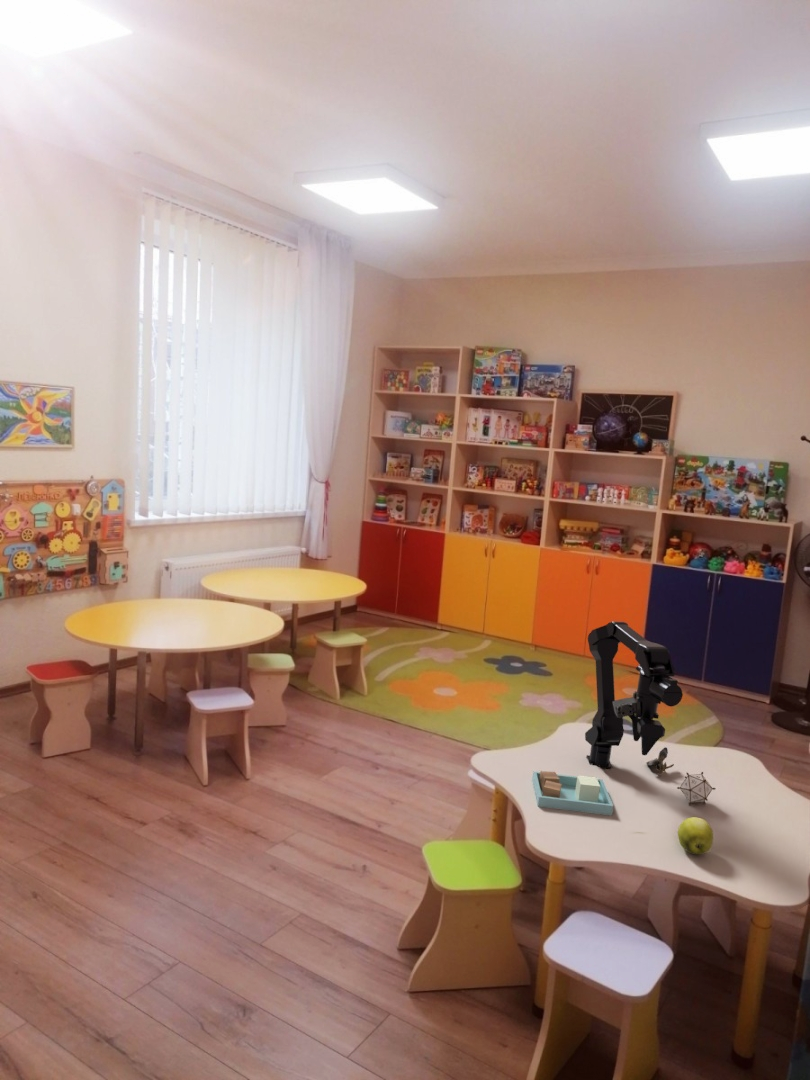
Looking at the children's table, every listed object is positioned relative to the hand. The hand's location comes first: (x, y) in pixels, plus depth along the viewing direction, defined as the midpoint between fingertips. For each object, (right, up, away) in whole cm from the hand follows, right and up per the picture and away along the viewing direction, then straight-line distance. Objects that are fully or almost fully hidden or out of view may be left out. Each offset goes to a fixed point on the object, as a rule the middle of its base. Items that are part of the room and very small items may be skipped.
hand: (639, 747), depth 209 cm
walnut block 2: (-25, -11, -8) cm, 29 cm away
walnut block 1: (-25, -10, -2) cm, 27 cm away
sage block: (-16, -12, -5) cm, 20 cm away
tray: (-20, -12, -5) cm, 24 cm away
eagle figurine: (+11, -12, +18) cm, 24 cm away
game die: (+14, -15, 0) cm, 21 cm away
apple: (+5, -18, -25) cm, 31 cm away
